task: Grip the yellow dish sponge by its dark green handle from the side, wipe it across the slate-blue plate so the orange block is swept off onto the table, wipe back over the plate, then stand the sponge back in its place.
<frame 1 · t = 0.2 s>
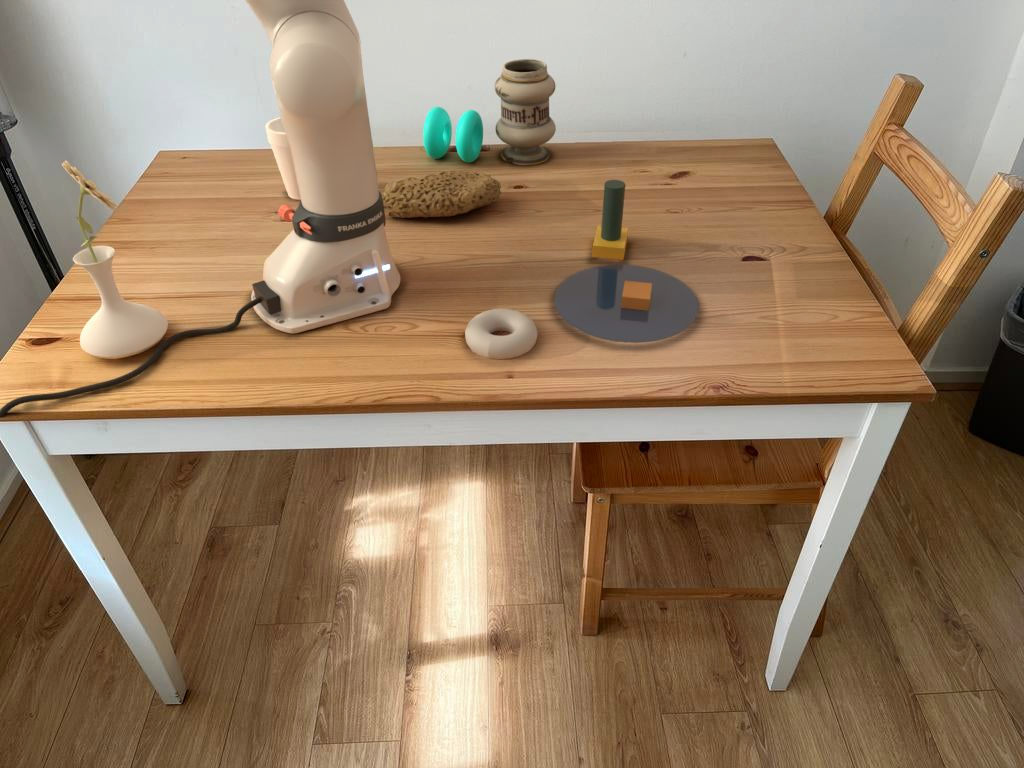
foam cup: (305, 193, 145), on the table
plate: (625, 306, 113), on the table
donuts: (455, 159, 157), on the table
flower in vase: (129, 339, 108), on the table
sponge: (444, 211, 139), on the table
donut: (501, 345, 106), on the table
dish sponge: (609, 253, 126), on the table
apothecary jar: (525, 156, 158), on the table
orange block: (636, 301, 113), point 1 cm above the table, touching plate
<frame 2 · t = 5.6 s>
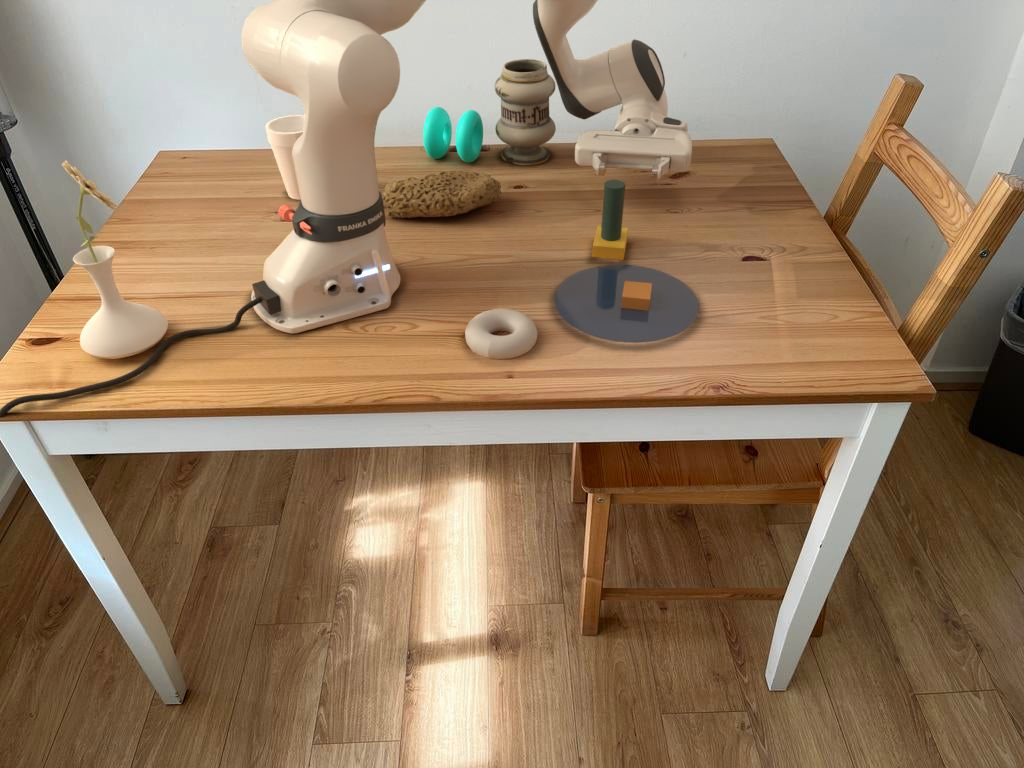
hand: (627, 173, 130), 8 cm above the table, tool horizontal, fingers open, 8 cm apart
nothing on the table moved.
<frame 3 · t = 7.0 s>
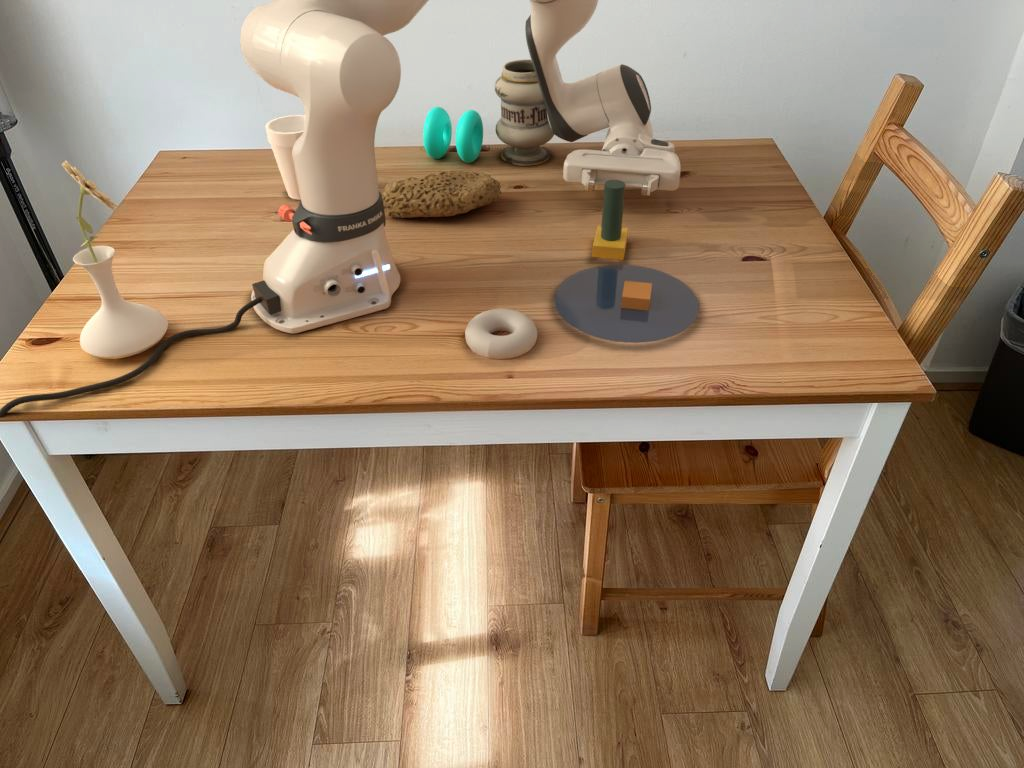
hand: (617, 189, 129), 7 cm above the table, tool horizontal, fingers open, 8 cm apart
nothing on the table moved.
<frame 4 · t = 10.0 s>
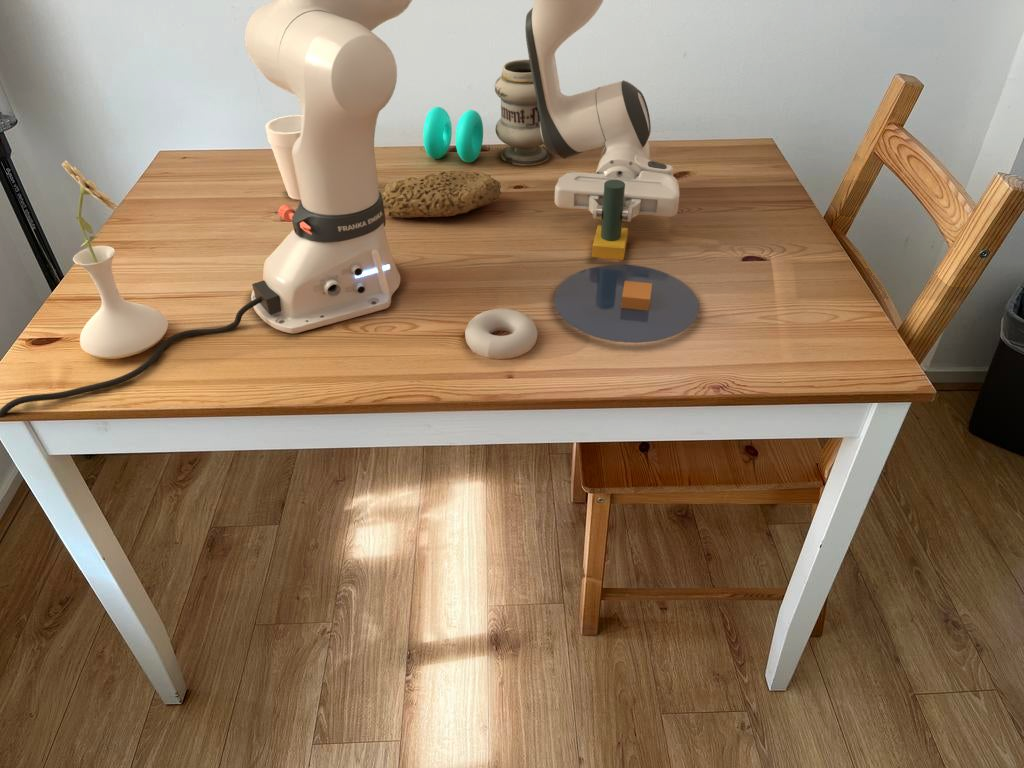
hand: (612, 216, 121), 7 cm above the table, tool horizontal, fingers closed on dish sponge, 3 cm apart
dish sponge: (609, 252, 126), on the table, touching gripper
everything else where it was.
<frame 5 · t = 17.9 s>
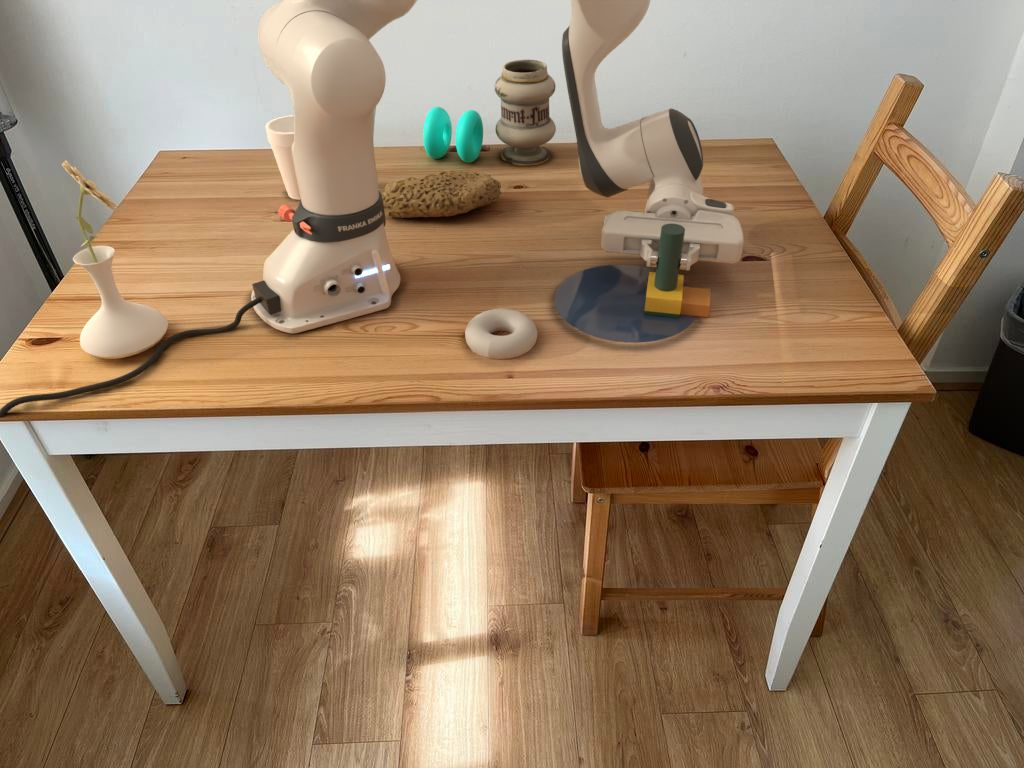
hand: (668, 264, 107), 8 cm above the table, tool horizontal, fingers closed on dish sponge, 3 cm apart
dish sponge: (662, 303, 112), point 1 cm above the table, touching gripper, orange block
orange block: (694, 307, 111), point 1 cm above the table, touching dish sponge
everything else where it was.
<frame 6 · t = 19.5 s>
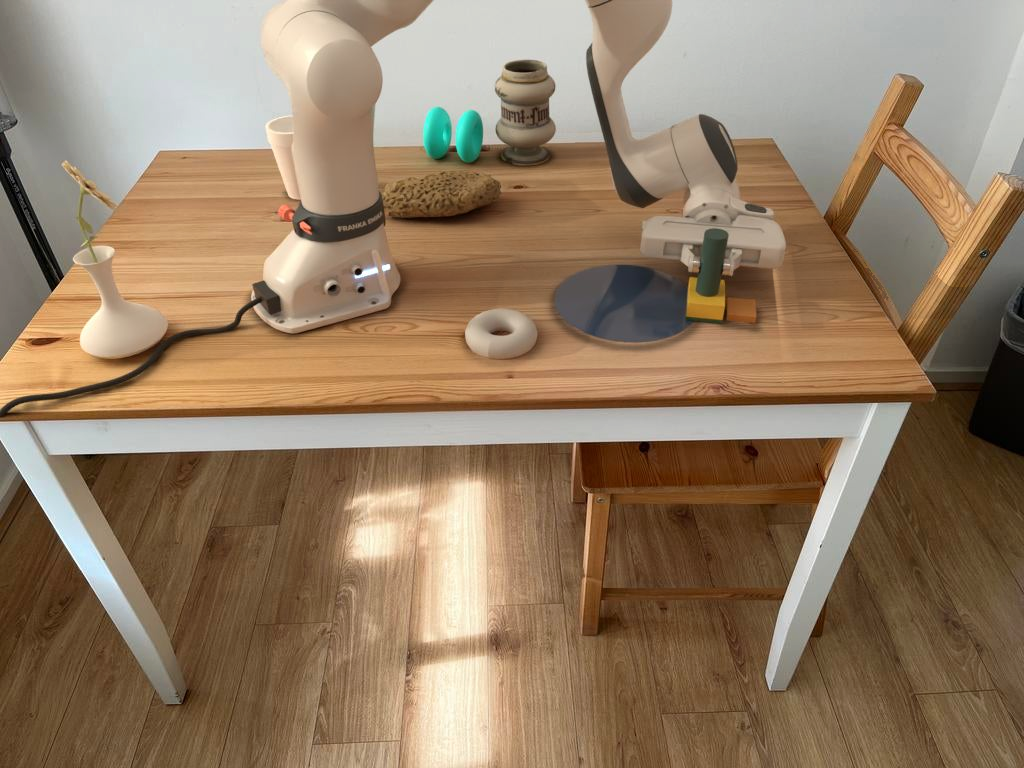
hand: (711, 269, 106), 8 cm above the table, tool horizontal, fingers closed on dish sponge, 3 cm apart
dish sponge: (704, 308, 111), point 1 cm above the table, touching gripper
orange block: (739, 318, 111), on the table
everything else where it was.
when the fingers open (8 cm above the table, at t = 28.2 s): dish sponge stays where it is, on the table.
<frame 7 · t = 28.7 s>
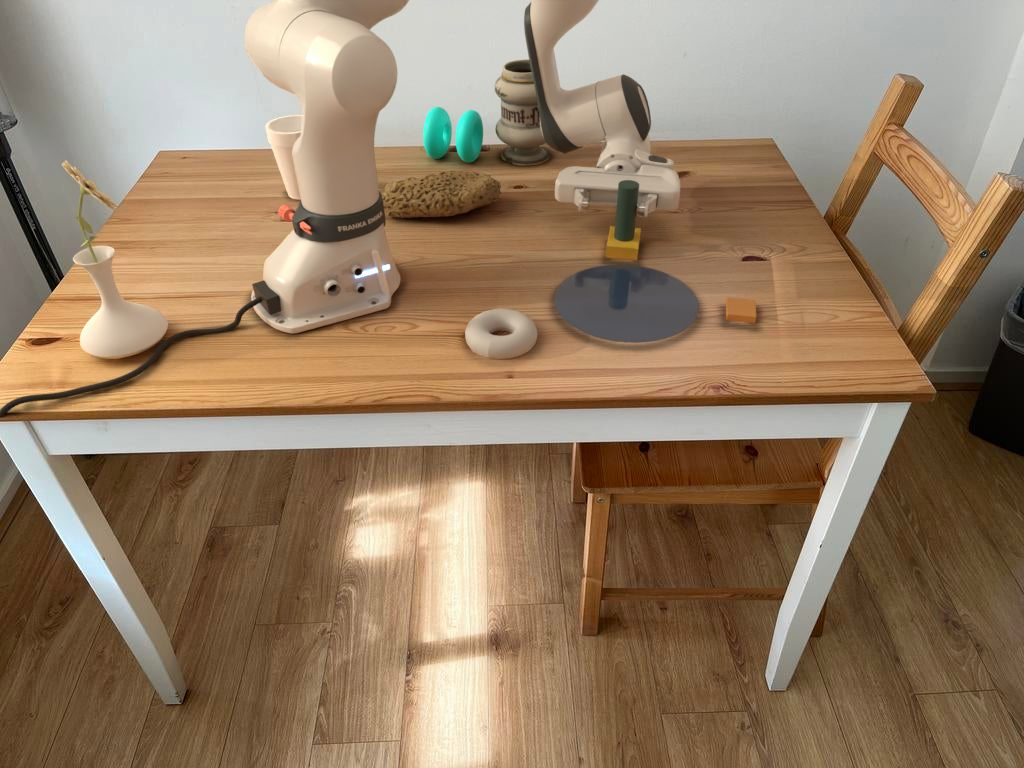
hand: (612, 210, 120), 8 cm above the table, tool horizontal, fingers open, 8 cm apart
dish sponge: (622, 253, 126), on the table
everything else where it was.
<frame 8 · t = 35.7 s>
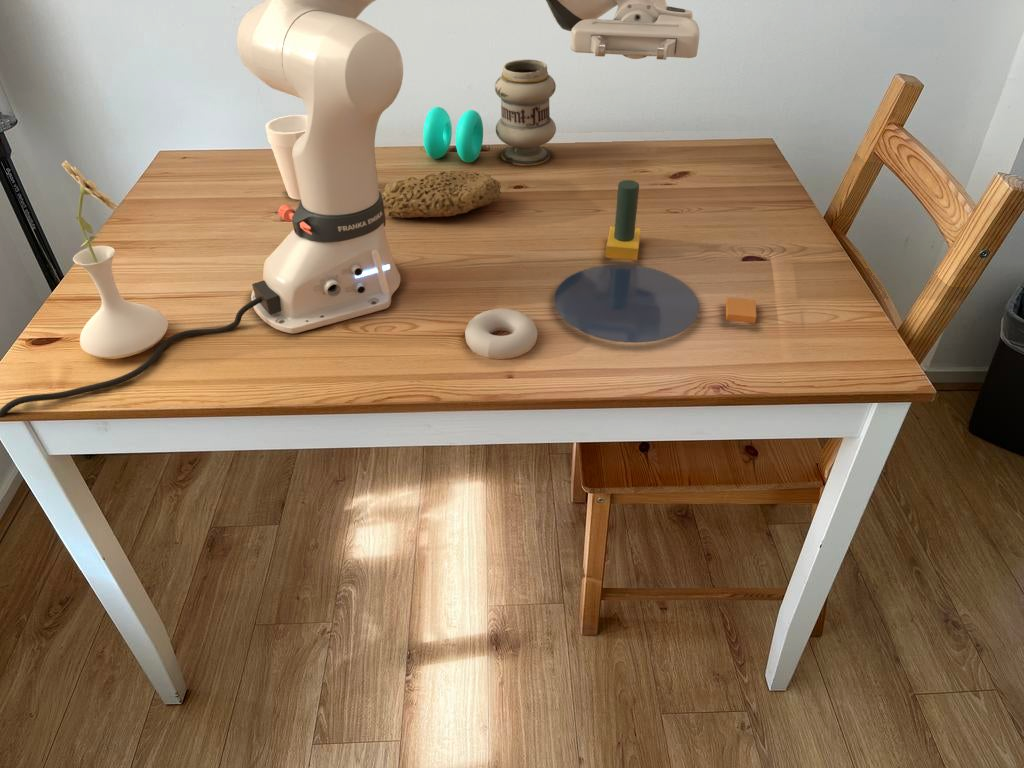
hand: (630, 52, 118), 28 cm above the table, tool horizontal, fingers open, 8 cm apart
nothing on the table moved.
at the end: orange block inside the target area (1.2 cm from its centre), on the table; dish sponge inside the target area (2.2 cm from its centre), on the table; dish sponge tilted 0° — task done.
